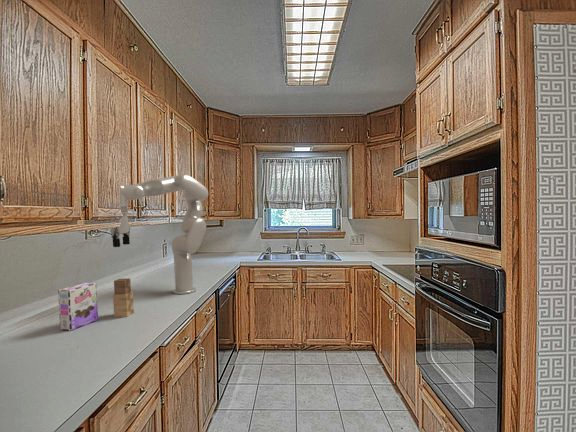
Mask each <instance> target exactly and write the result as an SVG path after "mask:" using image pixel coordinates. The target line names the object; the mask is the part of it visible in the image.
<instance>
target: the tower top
mask: <svg viewBox="0 0 576 432" xmlns="http://www.w3.org/2000/svg"><path fill="white" fill-rule="evenodd" d="M112 302H113V307H114V306H127V305H129V304H131V303H133V304H134V291H133V290H131V292H129V293H127V294H115V293H114V294H113V295H112Z"/></svg>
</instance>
